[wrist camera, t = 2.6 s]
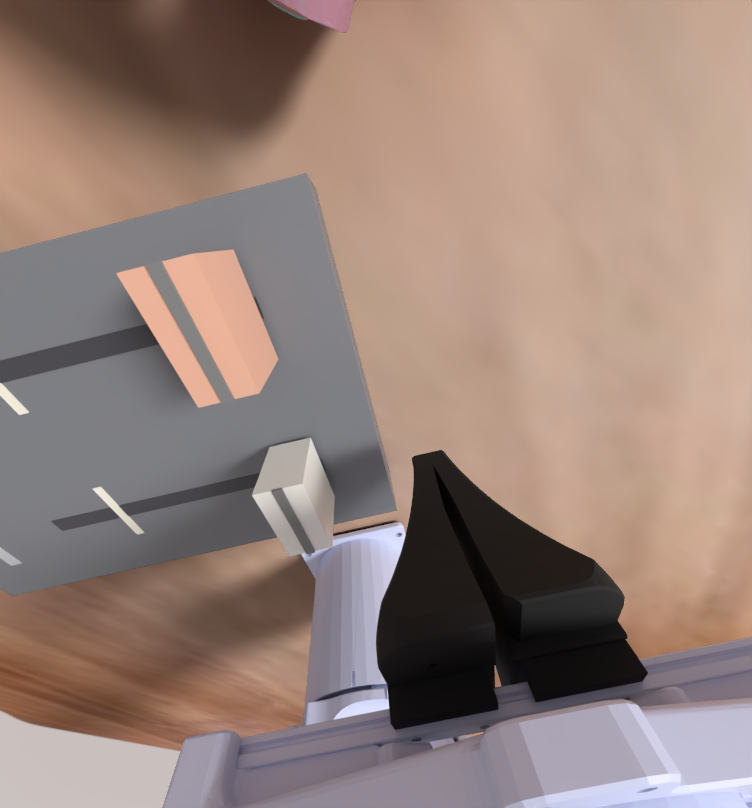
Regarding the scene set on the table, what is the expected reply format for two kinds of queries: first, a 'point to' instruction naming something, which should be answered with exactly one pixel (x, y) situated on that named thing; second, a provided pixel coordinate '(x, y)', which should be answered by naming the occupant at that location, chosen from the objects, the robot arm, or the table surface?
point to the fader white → (296, 497)
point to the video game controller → (320, 11)
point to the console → (169, 394)
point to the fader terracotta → (205, 324)
